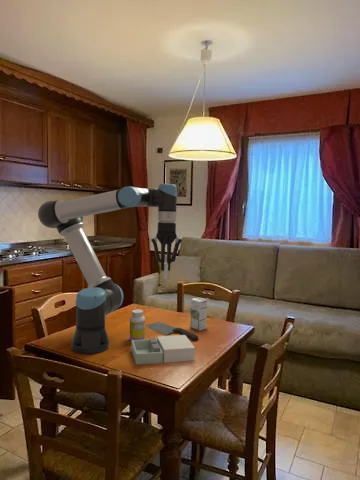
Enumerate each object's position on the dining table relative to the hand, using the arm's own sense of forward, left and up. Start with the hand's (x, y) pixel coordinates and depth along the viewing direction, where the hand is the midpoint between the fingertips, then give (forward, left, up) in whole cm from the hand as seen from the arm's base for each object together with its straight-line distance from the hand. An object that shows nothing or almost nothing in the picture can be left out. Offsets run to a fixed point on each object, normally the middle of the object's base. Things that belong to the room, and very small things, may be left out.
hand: (165, 278), depth 155 cm
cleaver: (+7, +14, -29) cm, 33 cm away
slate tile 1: (-5, -14, -26) cm, 29 cm away
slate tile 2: (-5, -8, -26) cm, 27 cm away
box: (-9, -11, -29) cm, 32 cm away
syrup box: (+21, +17, -29) cm, 39 cm away
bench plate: (+3, -11, -29) cm, 31 cm away
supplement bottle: (-10, +7, -29) cm, 31 cm away
